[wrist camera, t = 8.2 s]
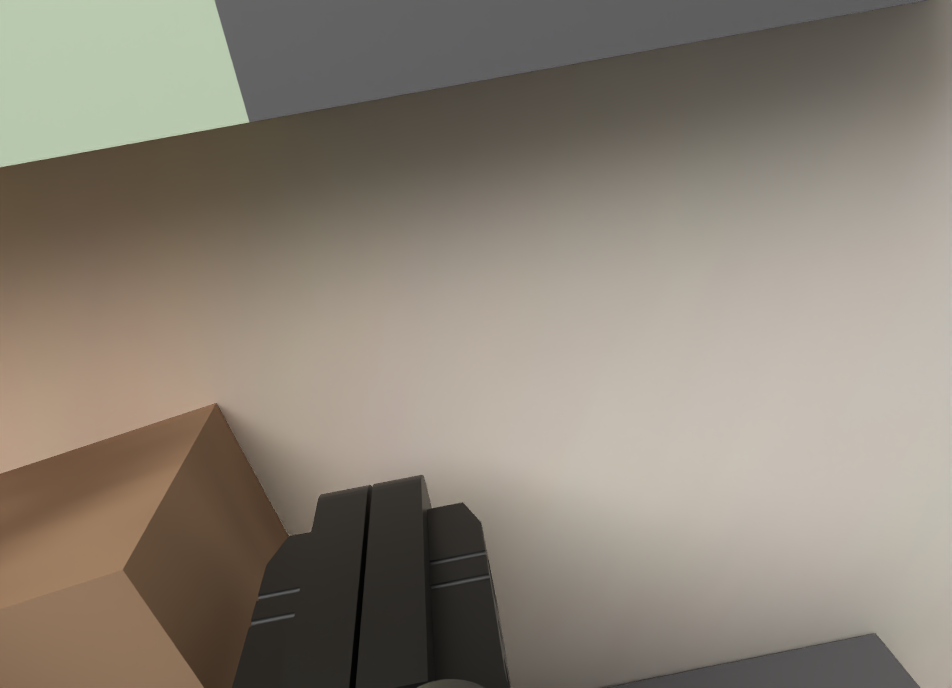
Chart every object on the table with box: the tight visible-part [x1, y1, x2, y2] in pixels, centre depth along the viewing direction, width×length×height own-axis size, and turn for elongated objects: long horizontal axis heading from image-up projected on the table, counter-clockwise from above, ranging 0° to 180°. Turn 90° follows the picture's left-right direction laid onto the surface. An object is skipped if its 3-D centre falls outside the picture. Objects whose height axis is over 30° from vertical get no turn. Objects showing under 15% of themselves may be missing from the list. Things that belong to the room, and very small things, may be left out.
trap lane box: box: [0, 0, 926, 688], centre depth 10 cm, size 28×15×2 cm, turn 100°
